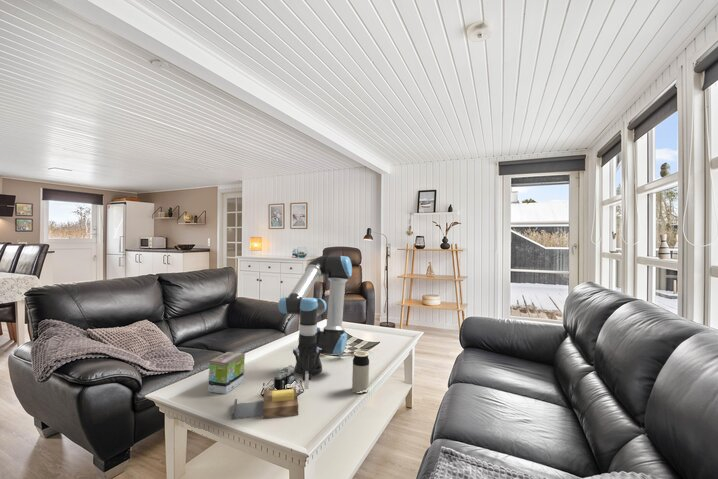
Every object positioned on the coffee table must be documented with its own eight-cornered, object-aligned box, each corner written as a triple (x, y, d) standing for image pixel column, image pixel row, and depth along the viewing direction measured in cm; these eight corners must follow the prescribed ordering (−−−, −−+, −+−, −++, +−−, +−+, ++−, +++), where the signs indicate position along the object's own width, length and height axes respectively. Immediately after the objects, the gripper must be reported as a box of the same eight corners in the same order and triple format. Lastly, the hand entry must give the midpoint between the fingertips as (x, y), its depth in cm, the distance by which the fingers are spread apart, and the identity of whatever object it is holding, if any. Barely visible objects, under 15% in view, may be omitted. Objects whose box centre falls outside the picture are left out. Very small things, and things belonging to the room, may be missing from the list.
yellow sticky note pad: (293, 393, 147) (293, 389, 147) (294, 399, 141) (294, 395, 141) (272, 395, 144) (272, 390, 144) (272, 401, 139) (272, 397, 139)
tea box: (226, 394, 153) (227, 362, 153) (207, 392, 155) (208, 360, 155) (244, 381, 168) (245, 352, 168) (226, 379, 170) (227, 350, 170)
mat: (263, 402, 146) (264, 396, 146) (263, 416, 135) (263, 409, 135) (235, 404, 143) (235, 399, 143) (231, 419, 132) (231, 412, 132)
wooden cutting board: (295, 397, 152) (295, 388, 152) (298, 414, 136) (298, 405, 136) (263, 400, 148) (264, 391, 148) (262, 418, 133) (263, 408, 133)
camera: (284, 396, 152) (285, 374, 152) (272, 394, 154) (272, 372, 155) (300, 384, 166) (301, 364, 166) (288, 382, 168) (289, 362, 169)
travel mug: (356, 395, 155) (357, 356, 155) (349, 388, 162) (350, 351, 162) (371, 392, 159) (372, 354, 159) (363, 385, 166) (364, 349, 166)
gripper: (321, 330, 151) (319, 383, 150) (292, 332, 148) (290, 385, 147) (323, 335, 143) (322, 390, 143) (293, 336, 140) (291, 392, 140)
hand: (306, 387), depth 145 cm, fingers closed
